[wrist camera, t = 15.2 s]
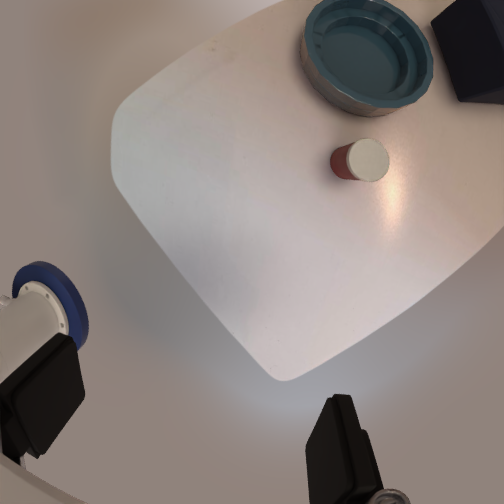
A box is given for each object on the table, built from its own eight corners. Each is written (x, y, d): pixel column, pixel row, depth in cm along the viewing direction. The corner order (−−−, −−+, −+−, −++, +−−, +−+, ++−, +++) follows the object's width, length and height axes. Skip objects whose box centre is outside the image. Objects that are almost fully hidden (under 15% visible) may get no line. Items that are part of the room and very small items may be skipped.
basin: (291, 100, 32) (295, 87, 26) (307, 3, 28) (312, -20, 22) (407, 131, 32) (430, 126, 26) (413, 36, 28) (432, 19, 22)
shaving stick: (327, 175, 34) (345, 176, 25) (332, 142, 33) (352, 133, 24) (358, 183, 34) (385, 186, 25) (364, 150, 33) (392, 144, 24)
